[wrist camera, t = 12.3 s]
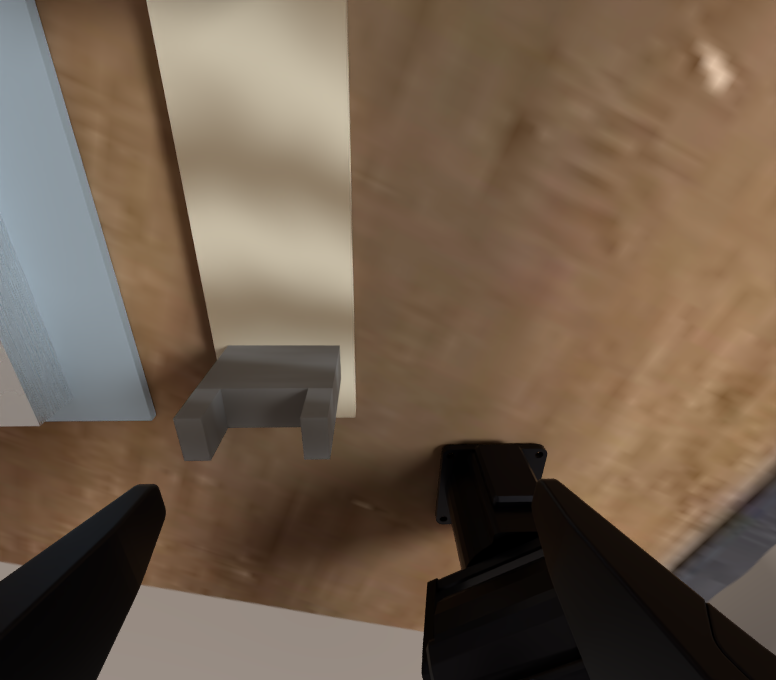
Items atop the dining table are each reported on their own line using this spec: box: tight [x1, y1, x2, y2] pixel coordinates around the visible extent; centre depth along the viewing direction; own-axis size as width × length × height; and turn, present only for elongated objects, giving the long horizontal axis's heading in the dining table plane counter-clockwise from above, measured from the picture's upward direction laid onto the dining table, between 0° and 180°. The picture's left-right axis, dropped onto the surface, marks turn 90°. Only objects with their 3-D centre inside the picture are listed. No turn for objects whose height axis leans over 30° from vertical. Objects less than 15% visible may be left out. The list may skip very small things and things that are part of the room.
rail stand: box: [146, 0, 356, 461], centre depth 14 cm, size 24×7×7 cm, turn 179°
